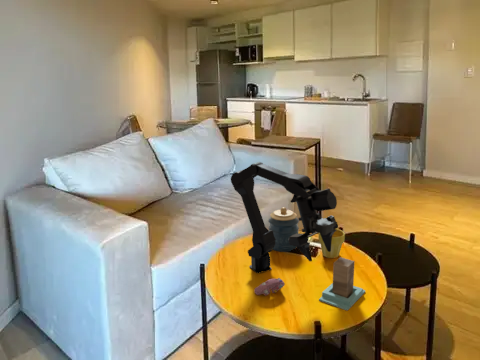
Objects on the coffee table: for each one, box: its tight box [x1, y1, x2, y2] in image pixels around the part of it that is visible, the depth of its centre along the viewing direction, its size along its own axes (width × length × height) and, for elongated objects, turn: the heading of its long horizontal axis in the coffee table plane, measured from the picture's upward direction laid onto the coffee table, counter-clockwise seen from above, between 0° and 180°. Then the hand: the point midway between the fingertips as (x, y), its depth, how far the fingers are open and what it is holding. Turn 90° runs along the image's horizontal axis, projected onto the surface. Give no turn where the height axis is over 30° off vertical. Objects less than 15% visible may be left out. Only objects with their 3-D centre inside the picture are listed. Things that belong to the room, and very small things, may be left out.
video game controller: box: [253, 277, 285, 297], centre depth 142 cm, size 10×5×7 cm
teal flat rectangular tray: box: [318, 282, 366, 311], centre depth 139 cm, size 14×10×2 cm
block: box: [332, 256, 355, 298], centre depth 138 cm, size 5×5×12 cm
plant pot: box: [318, 228, 346, 259], centre depth 169 cm, size 10×10×10 cm
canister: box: [267, 206, 300, 253], centre depth 177 cm, size 13×13×18 cm
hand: (320, 256), depth 142 cm, fingers open, 9 cm apart
